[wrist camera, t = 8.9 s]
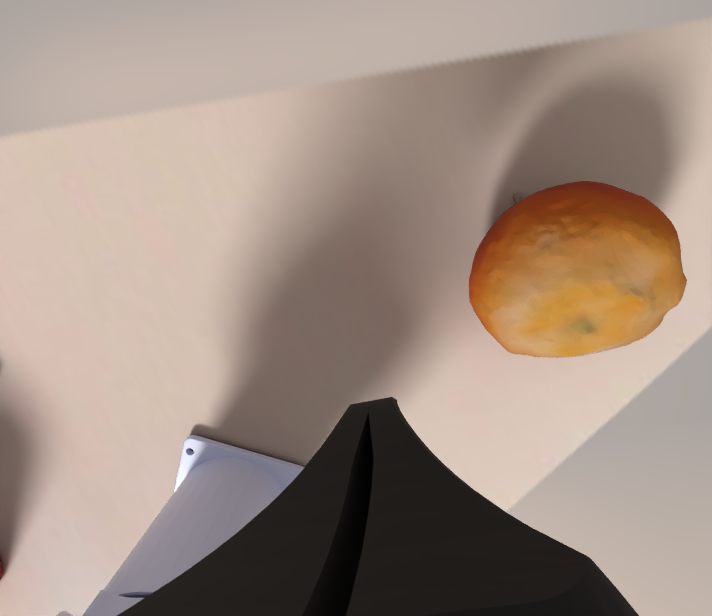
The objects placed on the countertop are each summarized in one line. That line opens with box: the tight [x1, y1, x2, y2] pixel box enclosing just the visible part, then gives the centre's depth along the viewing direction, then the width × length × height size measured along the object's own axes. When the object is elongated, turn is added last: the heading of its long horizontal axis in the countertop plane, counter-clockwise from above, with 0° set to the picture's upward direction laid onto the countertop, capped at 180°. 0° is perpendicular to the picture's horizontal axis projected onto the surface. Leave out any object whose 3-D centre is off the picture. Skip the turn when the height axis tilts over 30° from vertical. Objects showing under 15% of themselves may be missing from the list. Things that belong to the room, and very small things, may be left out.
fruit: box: [469, 181, 687, 358], centre depth 16 cm, size 8×8×8 cm
